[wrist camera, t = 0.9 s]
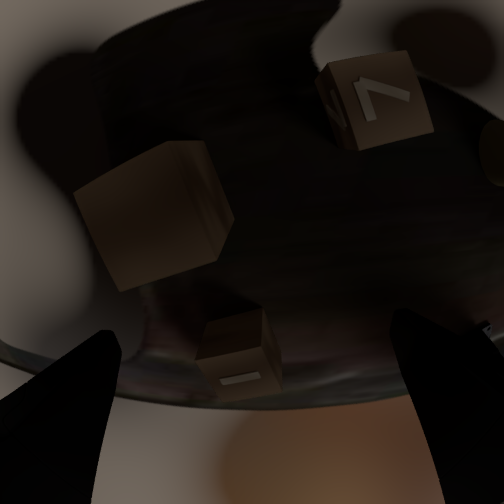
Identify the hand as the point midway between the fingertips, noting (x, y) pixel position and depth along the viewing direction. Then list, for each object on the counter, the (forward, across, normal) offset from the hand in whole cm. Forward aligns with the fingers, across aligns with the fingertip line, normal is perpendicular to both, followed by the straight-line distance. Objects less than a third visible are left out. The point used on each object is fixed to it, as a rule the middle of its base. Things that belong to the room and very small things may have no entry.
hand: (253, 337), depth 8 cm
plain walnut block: (+14, +5, -2) cm, 15 cm away
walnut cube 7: (+13, -8, -7) cm, 17 cm away
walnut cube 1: (+13, +1, +11) cm, 17 cm away
